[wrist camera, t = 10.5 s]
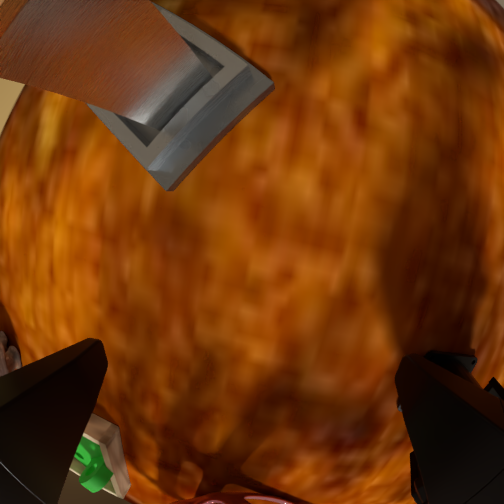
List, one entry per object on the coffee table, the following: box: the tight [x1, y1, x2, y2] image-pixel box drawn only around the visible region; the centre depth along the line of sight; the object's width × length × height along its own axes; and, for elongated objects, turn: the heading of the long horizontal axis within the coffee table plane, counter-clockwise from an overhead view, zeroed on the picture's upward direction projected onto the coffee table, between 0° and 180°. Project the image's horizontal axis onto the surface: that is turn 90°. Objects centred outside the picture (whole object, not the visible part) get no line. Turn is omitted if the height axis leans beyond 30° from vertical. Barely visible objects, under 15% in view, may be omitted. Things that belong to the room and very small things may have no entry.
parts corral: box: [70, 413, 131, 499], centre depth 27 cm, size 12×18×4 cm, turn 168°
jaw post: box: [0, 0, 213, 131], centre depth 9 cm, size 5×5×15 cm
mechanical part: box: [74, 436, 124, 492], centre depth 25 cm, size 12×6×8 cm, turn 129°
